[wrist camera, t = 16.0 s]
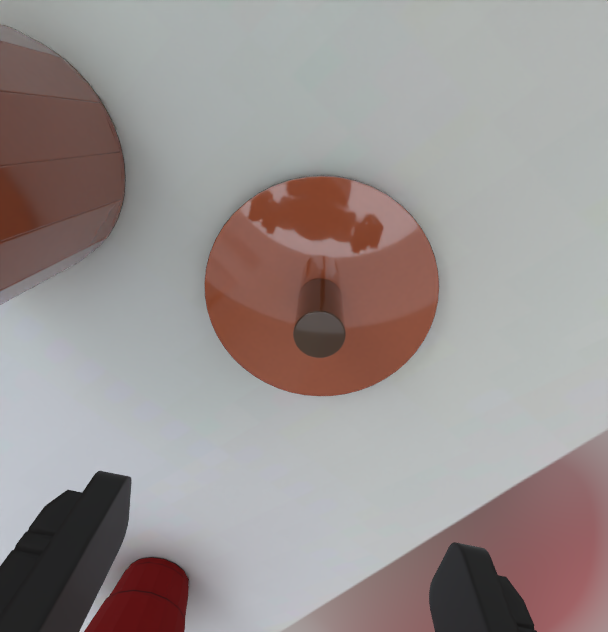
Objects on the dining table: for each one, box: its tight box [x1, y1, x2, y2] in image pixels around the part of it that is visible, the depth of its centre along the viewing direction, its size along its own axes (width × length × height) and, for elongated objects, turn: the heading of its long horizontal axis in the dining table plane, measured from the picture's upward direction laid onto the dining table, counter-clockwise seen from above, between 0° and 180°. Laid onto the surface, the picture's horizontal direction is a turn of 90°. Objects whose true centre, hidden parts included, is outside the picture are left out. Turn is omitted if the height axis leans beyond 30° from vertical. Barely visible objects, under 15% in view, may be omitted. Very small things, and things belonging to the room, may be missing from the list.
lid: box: [205, 175, 439, 396], centre depth 24 cm, size 14×14×6 cm
